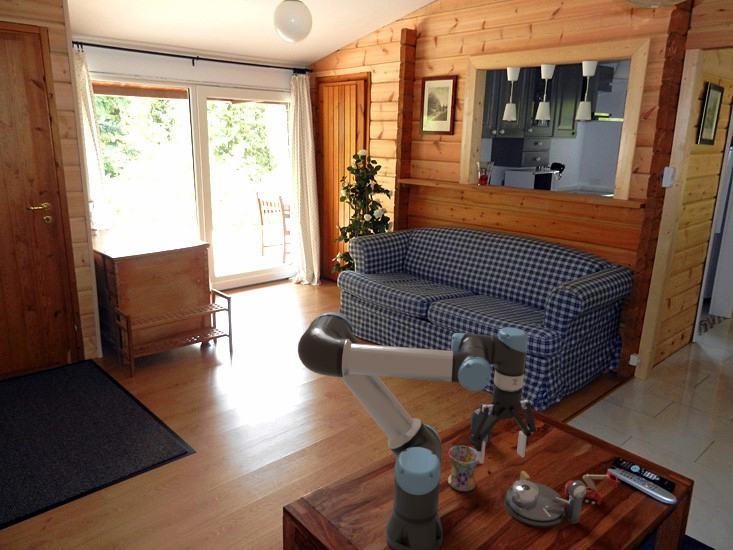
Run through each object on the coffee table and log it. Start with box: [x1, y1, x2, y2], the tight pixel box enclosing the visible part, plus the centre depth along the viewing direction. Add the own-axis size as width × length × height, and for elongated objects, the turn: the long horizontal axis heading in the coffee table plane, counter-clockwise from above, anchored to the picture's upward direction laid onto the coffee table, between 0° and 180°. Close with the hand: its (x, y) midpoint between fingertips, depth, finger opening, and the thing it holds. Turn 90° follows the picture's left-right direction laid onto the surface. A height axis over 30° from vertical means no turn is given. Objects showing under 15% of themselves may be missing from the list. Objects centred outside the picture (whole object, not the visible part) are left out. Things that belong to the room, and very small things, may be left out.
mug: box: [447, 445, 479, 492], centre depth 170 cm, size 12×9×11 cm
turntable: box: [506, 470, 566, 523], centre depth 160 cm, size 16×16×6 cm
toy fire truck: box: [564, 472, 619, 506], centre depth 163 cm, size 3×14×10 cm, turn 68°
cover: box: [512, 479, 539, 509], centre depth 158 cm, size 7×7×5 cm
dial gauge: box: [555, 479, 587, 525], centre depth 155 cm, size 6×5×13 cm
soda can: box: [469, 406, 492, 447], centre depth 192 cm, size 7×7×12 cm
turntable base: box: [503, 492, 567, 529], centre depth 160 cm, size 17×17×1 cm
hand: (500, 457), depth 153 cm, fingers open, 12 cm apart
